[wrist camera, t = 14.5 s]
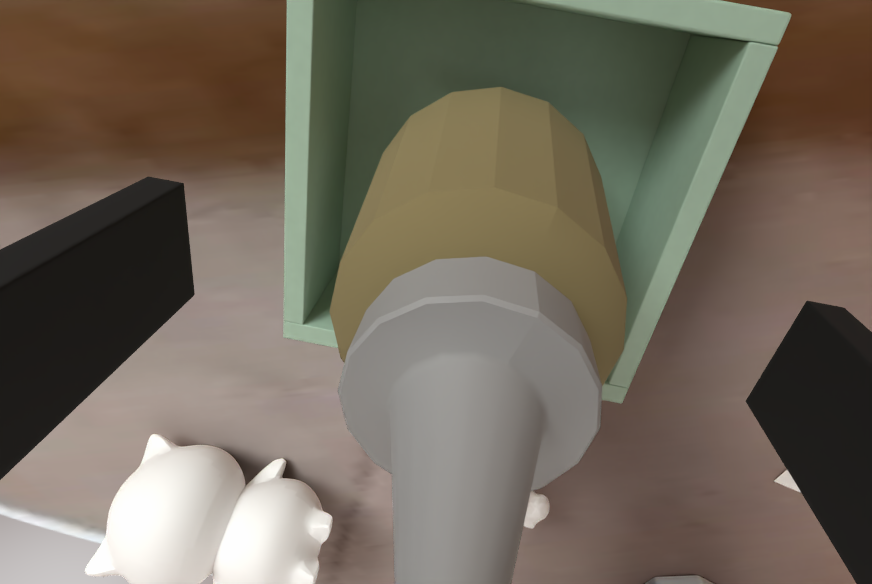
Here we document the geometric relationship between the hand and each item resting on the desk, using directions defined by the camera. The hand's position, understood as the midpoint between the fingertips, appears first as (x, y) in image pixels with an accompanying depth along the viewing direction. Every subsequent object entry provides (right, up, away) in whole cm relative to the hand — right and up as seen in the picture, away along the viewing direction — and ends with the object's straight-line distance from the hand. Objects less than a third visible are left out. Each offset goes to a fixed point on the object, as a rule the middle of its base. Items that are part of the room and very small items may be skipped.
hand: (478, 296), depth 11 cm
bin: (+1, +5, +11) cm, 12 cm away
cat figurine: (-13, -12, +22) cm, 28 cm away
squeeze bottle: (+1, +5, +10) cm, 12 cm away
